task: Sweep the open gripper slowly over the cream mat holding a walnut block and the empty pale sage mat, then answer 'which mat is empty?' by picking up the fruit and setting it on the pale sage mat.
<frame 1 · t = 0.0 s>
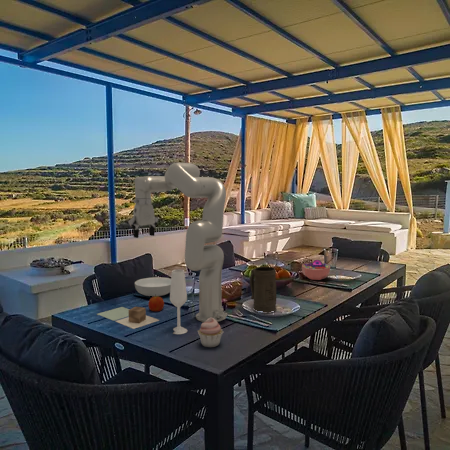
hand: (144, 236, 195), 31 cm above the table, tool pointing down, fingers open, 9 cm apart
fruit: (156, 312, 177), on the table
cream mat: (137, 322, 163), on the table
cell model: (315, 279, 236), on the table
champagne flute: (178, 331, 154), on the table
pale sage mat: (118, 315, 172), on the table
serving bowl: (155, 294, 204), on the table
cupcake: (210, 344, 141), on the table
walnut block: (137, 320, 163), point 1 cm above the table, touching cream mat
beer stein: (260, 309, 180), on the table
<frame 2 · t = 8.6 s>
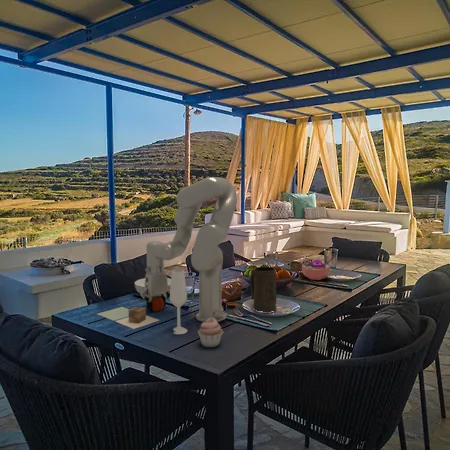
hand: (156, 307, 176), 2 cm above the table, tool pointing down, fingers closed on fruit, 7 cm apart
fruit: (156, 312, 177), on the table, touching gripper
everything else where it was.
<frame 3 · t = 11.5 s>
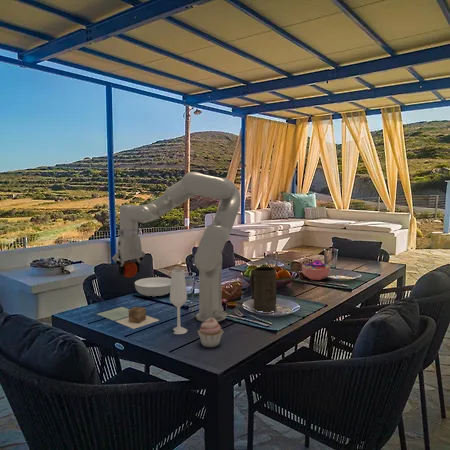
hand: (129, 273, 172), 18 cm above the table, tool pointing down, fingers closed on fruit, 7 cm apart
fruit: (129, 277, 172), point 16 cm above the table, touching gripper
everything else where it was.
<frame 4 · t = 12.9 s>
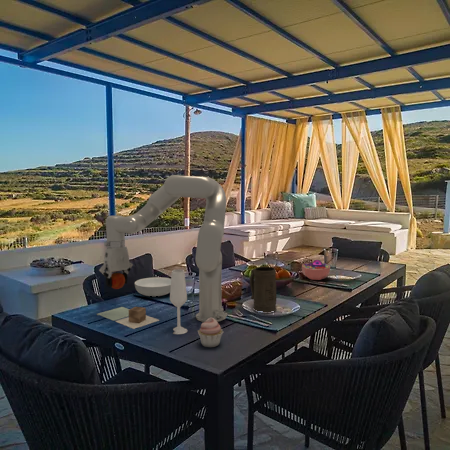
hand: (117, 284, 171), 14 cm above the table, tool pointing down, fingers closed on fruit, 7 cm apart
fruit: (117, 288, 171), point 12 cm above the table, touching gripper
everything else where it was.
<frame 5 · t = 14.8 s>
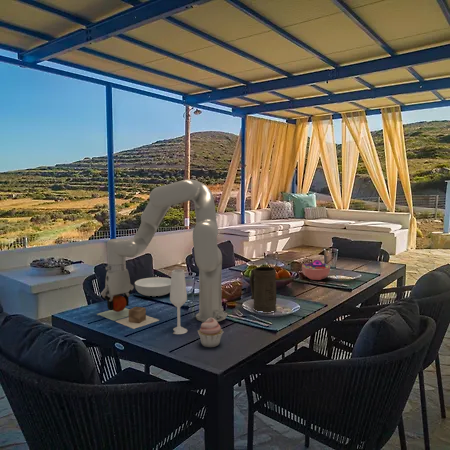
hand: (118, 307, 172), 4 cm above the table, tool pointing down, fingers closed on fruit, 7 cm apart
fruit: (118, 311, 172), point 2 cm above the table, touching gripper
everything else where it was.
when the fingers open (4 cm above the table, at t = 15.5 s): fruit stays where it is, resting on pale sage mat.
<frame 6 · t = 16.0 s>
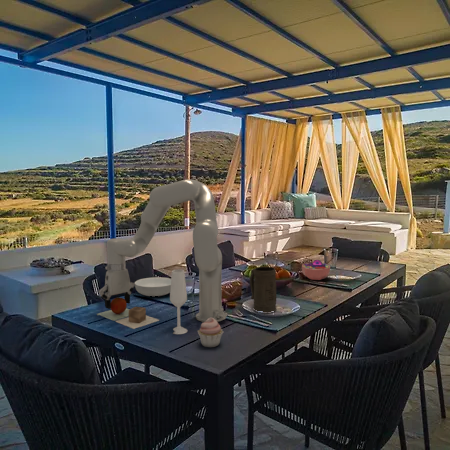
hand: (117, 305, 172), 4 cm above the table, tool pointing down, fingers open, 9 cm apart
fruit: (118, 313, 172), point 1 cm above the table, touching pale sage mat
everything else where it was.
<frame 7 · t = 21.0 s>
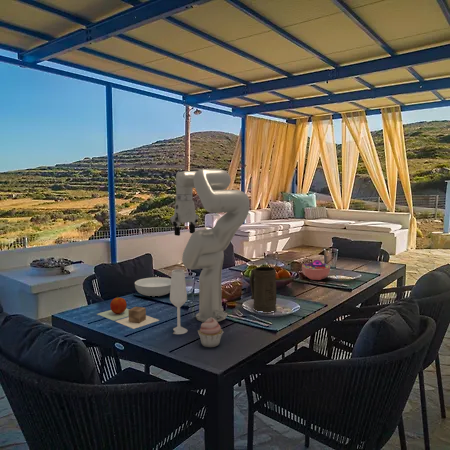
hand: (184, 234, 187), 33 cm above the table, tool pointing down, fingers open, 9 cm apart
nothing on the table moved.
at the end: fruit inside the target area on the pale sage mat (0.2 cm from its centre), point 0.6 cm above the pale sage mat's base; the gripper is holding nothing; walnut block moved 0.0 cm from its start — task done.
